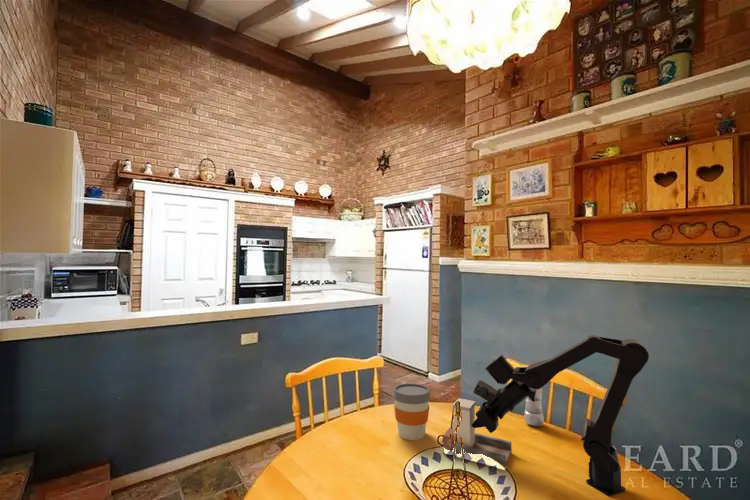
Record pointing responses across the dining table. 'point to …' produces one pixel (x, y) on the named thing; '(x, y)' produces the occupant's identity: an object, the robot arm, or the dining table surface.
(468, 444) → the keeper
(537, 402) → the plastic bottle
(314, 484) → the dining table surface
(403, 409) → the reusable coffee cup
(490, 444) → the track
